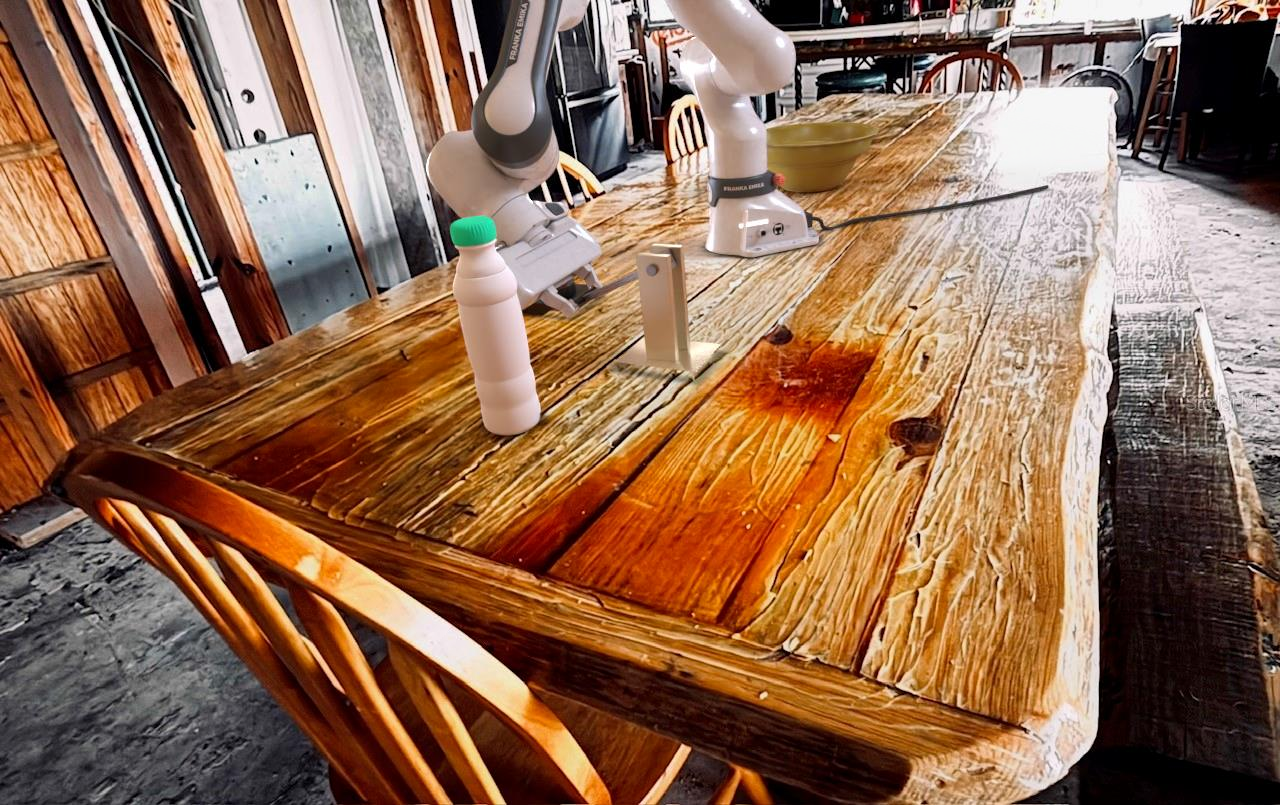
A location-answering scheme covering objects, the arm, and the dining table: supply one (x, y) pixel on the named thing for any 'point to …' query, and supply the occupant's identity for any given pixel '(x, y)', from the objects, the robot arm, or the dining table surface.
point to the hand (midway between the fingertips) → (587, 303)
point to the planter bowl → (816, 153)
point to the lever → (613, 285)
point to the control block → (565, 291)
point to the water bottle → (493, 329)
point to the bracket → (665, 315)
